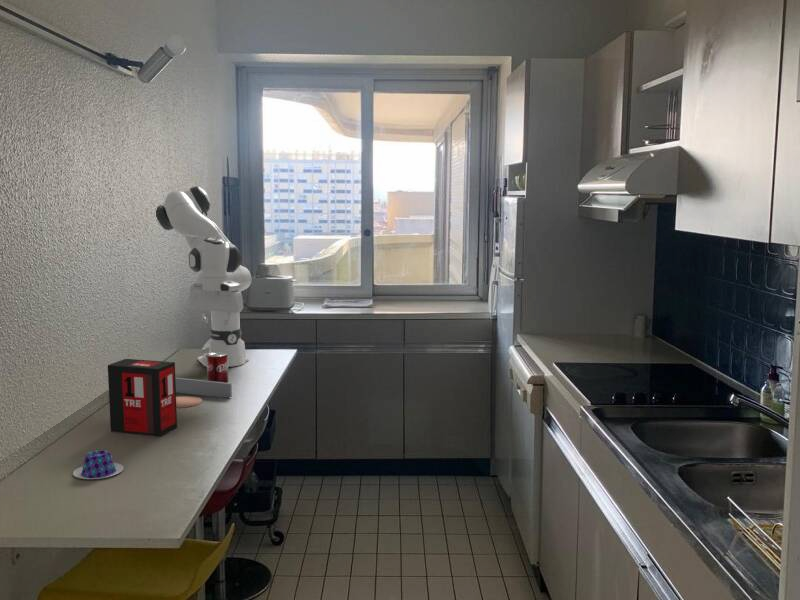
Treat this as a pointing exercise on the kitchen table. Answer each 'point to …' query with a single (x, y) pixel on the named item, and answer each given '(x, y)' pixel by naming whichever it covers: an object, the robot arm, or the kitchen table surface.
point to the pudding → (98, 466)
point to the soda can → (217, 367)
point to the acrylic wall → (203, 387)
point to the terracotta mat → (187, 401)
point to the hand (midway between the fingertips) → (216, 323)
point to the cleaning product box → (142, 397)
